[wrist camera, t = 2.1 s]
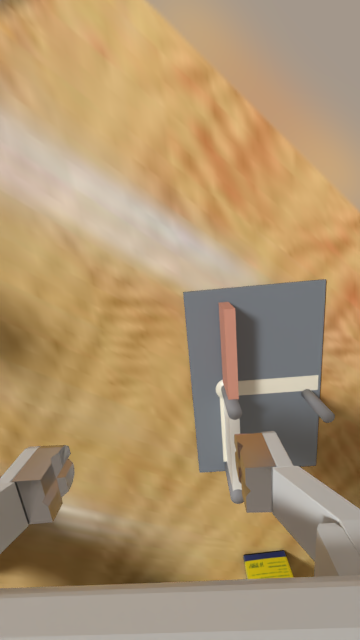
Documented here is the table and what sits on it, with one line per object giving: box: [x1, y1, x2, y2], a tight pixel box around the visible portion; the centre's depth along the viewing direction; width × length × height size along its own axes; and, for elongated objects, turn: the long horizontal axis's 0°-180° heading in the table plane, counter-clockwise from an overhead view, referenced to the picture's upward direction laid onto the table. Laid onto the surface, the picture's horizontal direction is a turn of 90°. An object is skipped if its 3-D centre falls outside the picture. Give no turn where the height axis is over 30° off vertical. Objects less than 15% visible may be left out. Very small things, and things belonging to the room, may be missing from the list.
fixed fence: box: [221, 385, 335, 504], centre depth 26 cm, size 12×10×5 cm
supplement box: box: [243, 551, 294, 579], centre depth 29 cm, size 6×6×11 cm
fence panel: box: [219, 302, 239, 400], centre depth 24 cm, size 9×1×4 cm, turn 5°
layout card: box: [183, 279, 326, 472], centre depth 27 cm, size 23×14×1 cm, turn 5°
